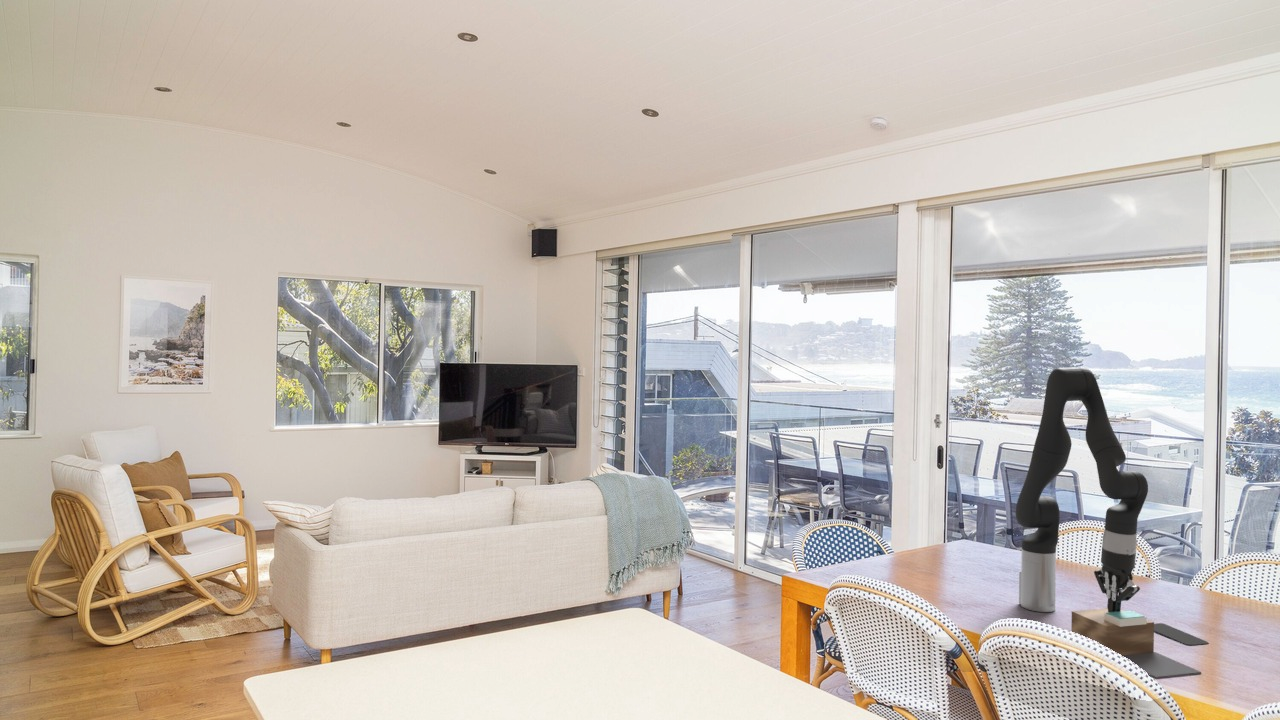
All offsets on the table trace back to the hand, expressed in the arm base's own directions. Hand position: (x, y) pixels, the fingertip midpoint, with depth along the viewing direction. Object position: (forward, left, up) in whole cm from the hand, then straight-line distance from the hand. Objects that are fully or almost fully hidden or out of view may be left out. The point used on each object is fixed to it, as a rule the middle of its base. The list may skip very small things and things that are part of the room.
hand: (1113, 613), depth 210 cm
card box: (+4, 0, -1) cm, 4 cm away
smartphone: (-5, +24, -10) cm, 26 cm away
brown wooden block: (-1, 0, -9) cm, 9 cm away
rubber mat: (+12, +1, -9) cm, 15 cm away
